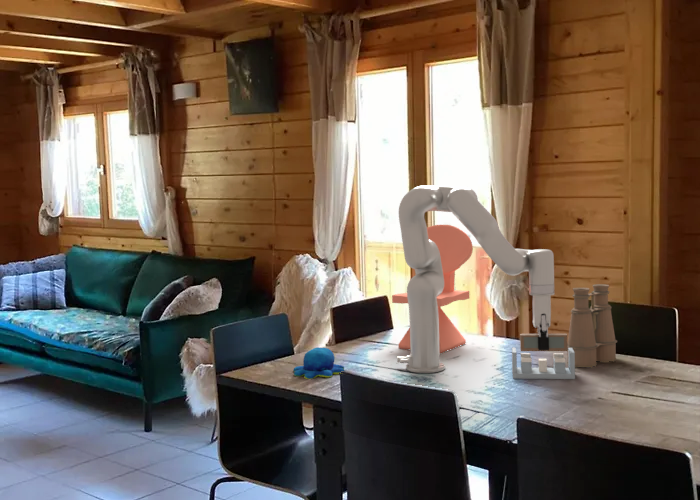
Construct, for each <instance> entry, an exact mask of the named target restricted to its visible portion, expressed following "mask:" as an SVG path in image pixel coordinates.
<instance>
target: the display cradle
mask: <svg viewBox="0 0 700 500" xmlns="http://www.w3.org/2000/svg"><path fill="white" fill-rule="evenodd" d="M552 354H553V357H552V358H553V367H548V360H547V358H537V359H538V360H537V361H538V363H537V364H538V367H533V366H532V364H533V362H532V361H533V359H532V357H531V355H532V354H531V352H530V353H528V352H525V353H523V352H520V367H519V366H518V367H517V365H518V361H517V348H516V347H511V370H512V372H511V373H512V379H525V380H526V379H530V380H531V379H533V380H534V379H538V380H543V379H544V380H575V379H576V370H575V369H576V367H575V353H574V351H573V349H572V348H568V357H567V362H568V365H567V366H568V367H566V357H564V355H565V354H564V353H563V352H562V353H561V352H560V353H556V352H555V353H552Z"/></svg>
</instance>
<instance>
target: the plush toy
mask: <svg viewBox="0 0 700 500" xmlns="http://www.w3.org/2000/svg"><path fill="white" fill-rule="evenodd" d="M335 358H336V357H335V355H334V353H333V351H332V350H331V349H329V348H327V347H319V346H318V347H314V348H312V349H310V350H308V351H307V352H306V353H304V356H303V359H302V360H303V365H299V366H298V365H297V366H295V367H294V368H293V369H292V370H293V376H294V377H303V379H306V380H313V379H315V378H317V377H321V378H332V377H333V375H335V376H336V375H340V374H341V373H340V372H341V371H345V372H346V370H345V366H343V365H341V364H336V363H335ZM339 373H340V374H339Z"/></svg>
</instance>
